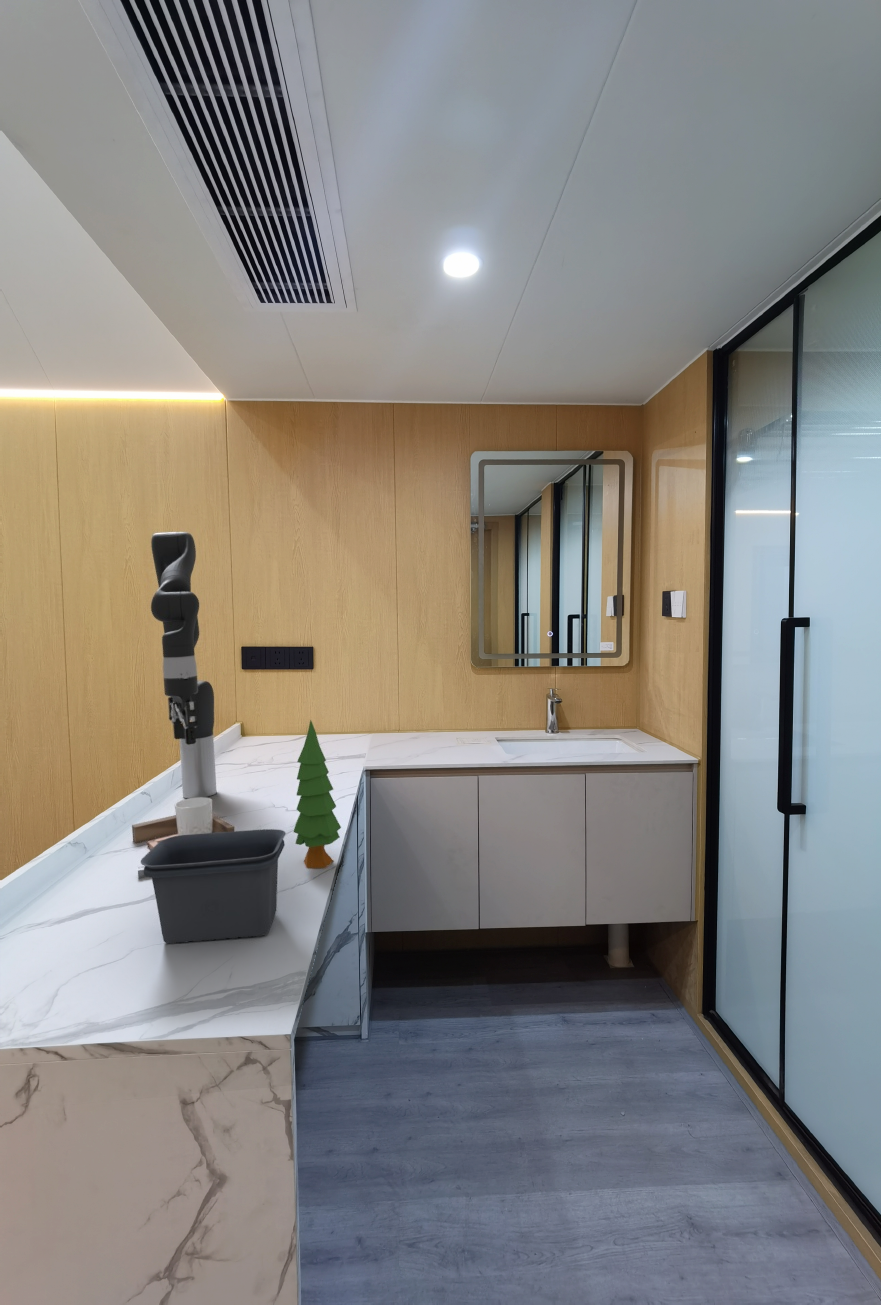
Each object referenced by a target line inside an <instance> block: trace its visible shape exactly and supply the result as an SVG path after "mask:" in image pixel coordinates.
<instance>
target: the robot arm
mask: <svg viewBox="0 0 881 1305" xmlns="http://www.w3.org/2000/svg"><path fill="white" fill-rule="evenodd" d="M150 539H151V541H150V543H151V545H150V547H151V553H152V557H153V558H152V559H153V564H154V570H155V574H156V580H157V583H158V584H157V585H158V589H157V590H156V591H155V593H154V595H153V597H152V599H151V601H150V602H151V603H150V610H151V614H152V617H153V618H154V619H156V620H157V621H159V622H162V626H163V635H162V637H161V644H162V657H163V658H162V673H163V687H164V688H163V690H164V696H166V697H167V702H168V705H167V706H168V719H169V721H171V724H172V727H173V728H172V730H173V739H175V740H179V752H180V754H179V755H180V766H181V768H180V769H181V770H180V771H181V786H182V789H181V790H182V797H183V798H185V799H190V798H198V797H205V798H209V797H212V796H213V795H215V794H216V793H217V775H216V758H215V757H216V754H215V742H214V728H215V692H214V688H213V685H212V684H211V682H209V681H207V680H198V670H197V669H198V666H197V660H196V657H195V648H196V645H197V643H198V641H199V639H200V638H199V636H200V626H199V617H198V614H199V610H200V600H199V598H198V596H197V595H196V594H195V593H194V592H192V587H191V586H192V584H191V582H192V581H191V578H192V574H193V570H194V568H195V563H196V558H197V550H196V543H195V540H194V537H193V535H192V534H191V533H190V532H187V531H178V532H177V531H173V532H172V531H171V532H156V533H153V535H152V536H151V538H150Z"/></svg>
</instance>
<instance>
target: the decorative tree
mask: <svg viewBox="0 0 881 1305" xmlns="http://www.w3.org/2000/svg"><path fill="white" fill-rule="evenodd" d="M313 724H314V723H313V721H312V719H310V721H309V725H308V730H307V734H306V737H305V741H304V744H303V748H302V749H301V752H300V754H299V757H298V758H297V763H299V768H298V773H297V777H296V780H297V781H299V782H298V786H297V792H296V796H297V797H298V796H300V798H299V801H298V803H297V807H296V810H297V812H299V815H298V817H297V820H296V822H295V824H294V829H293V833H295V834H297V836H296V840H295V845H299V846H301V845H304V844H305V847H307V848H308V849H307V853H306V854H305V857H304V859H303V864H304V865H305V868H306V869H326V868H328V866H330V864H332V863H333V862H334V859H333V858H331V856H330V855H329V854H328V853H327V851H326V850H325V846H327V845H331V844H332V843H334V842H336V840H338V839H340V834H339V832H338V831H339V830H340V829H341V828H342V826H341V825H340V822H339V821H338V819H337V817H336V815H335V813H334V812H333V810H335V808H337V805H336V802H335V801H334V799H333V796H332V795H331V791H334V787H333V786H332V783H331V781H330V778H329V777H328V774H329V773H330V771H329V770H328V767H327V765H326V763H325V762H327V759H326V758H325V755H324V753H323V750H322V748H321V746H320V742H319V739H318V736H317V732H316V729H315V727H314V725H313Z"/></svg>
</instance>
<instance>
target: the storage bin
mask: <svg viewBox="0 0 881 1305" xmlns="http://www.w3.org/2000/svg"><path fill="white" fill-rule="evenodd" d="M285 835H286V831H285V830H282V829H278V828H277V829H274V828H273V829H271V828H269V829H268V828H267V829H265V828H264V829H249V830H237V831H236V830H235V831H233V832H218V833H205V834H190V835H179V836H174V837H170V838H167V839H164V840H162V841H160V842H159V843H158V844H157V845H156V846H155V847H154V848H153V849H152V850H151V849H149V851H148V852H147V853H146V854H145V855H144V856H143V857H142V858H141V860H140V864H141V865H142V866H145V867H144V872H143V874H144V875H145V876H147V877H146V878H151V881H152V886H153V892H154V895H155V900H156V906H157V913H158V918H159V923H160V929H161V934H162V939H163V942H164V943H167V944H177V943H176V942H181V943H189V942H188V941H193V942H201V941H202V940H204V941H214V939H216V940H226V939H225V938H229V939H238V937H241V938H249V937H248V936H253V937H260V936H261V937H262V936H265V935H267V934H268V933H269V931H270V930H271V926H272V923H273V921H274V918H275V916H276V914H277V908H278V907H277V904H278V874H279V872H278V871H279V870H278V868H279V866H278V865H279V863H278V862H279V858H280V856H281V854H282V852H283V850H284V847H285V845H286V844H285V840H284V838H285ZM186 941H187V942H186Z"/></svg>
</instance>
